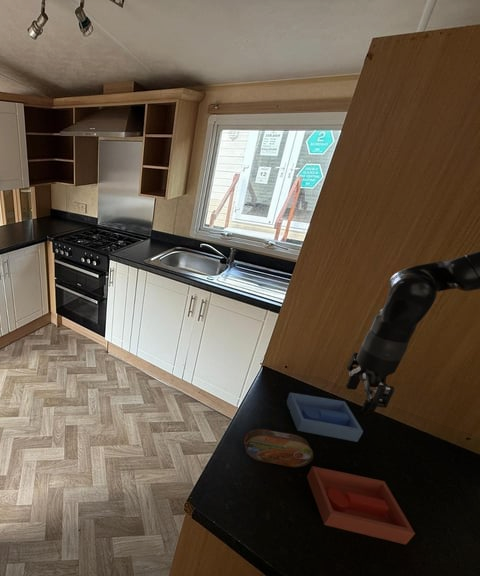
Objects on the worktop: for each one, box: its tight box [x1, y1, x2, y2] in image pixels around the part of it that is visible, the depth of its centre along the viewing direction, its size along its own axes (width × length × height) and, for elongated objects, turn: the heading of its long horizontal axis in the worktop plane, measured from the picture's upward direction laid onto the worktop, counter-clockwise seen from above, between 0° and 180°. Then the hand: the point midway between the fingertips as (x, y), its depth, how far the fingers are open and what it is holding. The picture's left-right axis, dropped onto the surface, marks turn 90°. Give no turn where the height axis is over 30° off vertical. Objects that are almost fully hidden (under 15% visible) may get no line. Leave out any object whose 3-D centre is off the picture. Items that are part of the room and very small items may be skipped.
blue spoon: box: [302, 407, 350, 426], centre depth 88 cm, size 11×4×3 cm, turn 76°
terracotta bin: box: [306, 465, 416, 545], centre depth 68 cm, size 15×11×4 cm
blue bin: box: [286, 392, 364, 443], centre depth 89 cm, size 15×11×4 cm
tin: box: [243, 428, 314, 468], centre depth 77 cm, size 15×3×8 cm, turn 76°
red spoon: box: [326, 488, 389, 517], centre depth 68 cm, size 11×4×3 cm, turn 76°
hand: (358, 399), depth 82 cm, fingers open, 8 cm apart
